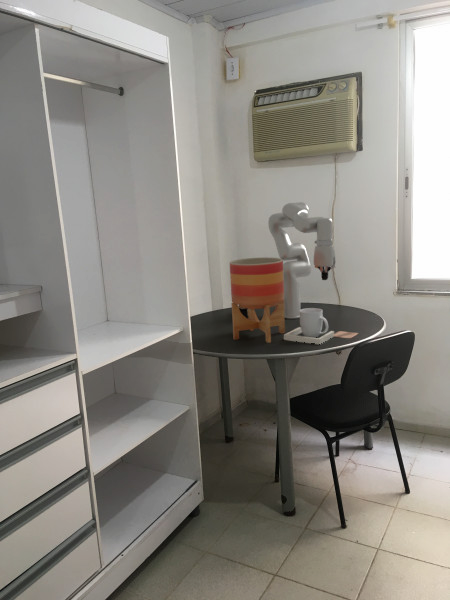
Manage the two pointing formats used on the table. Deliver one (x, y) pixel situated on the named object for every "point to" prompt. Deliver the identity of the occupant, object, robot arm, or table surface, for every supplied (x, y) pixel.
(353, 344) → the table surface
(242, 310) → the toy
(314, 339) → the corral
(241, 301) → the planter
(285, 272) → the robot arm
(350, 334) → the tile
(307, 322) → the mug
